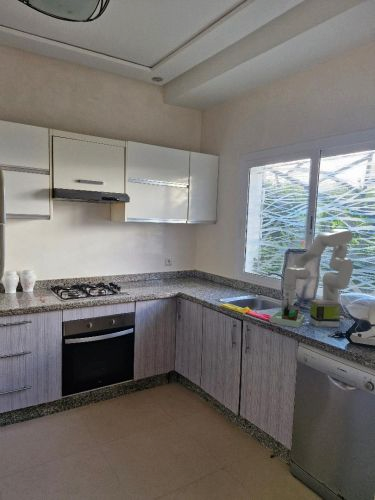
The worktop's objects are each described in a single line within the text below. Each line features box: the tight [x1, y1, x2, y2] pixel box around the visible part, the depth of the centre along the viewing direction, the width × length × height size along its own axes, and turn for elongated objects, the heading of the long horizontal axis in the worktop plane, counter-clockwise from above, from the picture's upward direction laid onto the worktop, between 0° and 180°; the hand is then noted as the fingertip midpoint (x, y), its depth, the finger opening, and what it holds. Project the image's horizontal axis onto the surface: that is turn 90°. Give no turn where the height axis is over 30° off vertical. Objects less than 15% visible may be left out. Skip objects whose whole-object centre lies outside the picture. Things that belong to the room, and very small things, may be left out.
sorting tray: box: [268, 310, 306, 329], centre depth 222 cm, size 18×18×4 cm
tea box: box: [309, 299, 341, 328], centre depth 219 cm, size 15×10×15 cm, turn 92°
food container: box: [280, 302, 301, 321], centre depth 221 cm, size 12×6×10 cm, turn 47°
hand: (287, 313), depth 222 cm, fingers open, 8 cm apart
